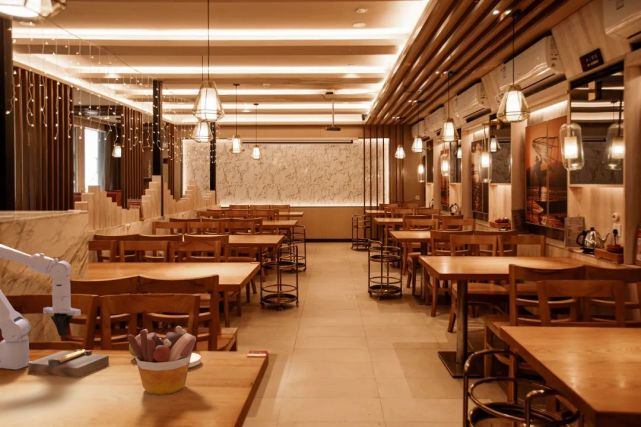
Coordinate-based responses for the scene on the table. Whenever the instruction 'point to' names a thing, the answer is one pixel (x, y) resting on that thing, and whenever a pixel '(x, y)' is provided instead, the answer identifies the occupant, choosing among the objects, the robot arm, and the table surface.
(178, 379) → the bucket of meat
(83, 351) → the latch bar
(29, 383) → the table surface
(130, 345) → the lemon
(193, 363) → the plastic lid
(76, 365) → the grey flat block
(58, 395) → the table surface
